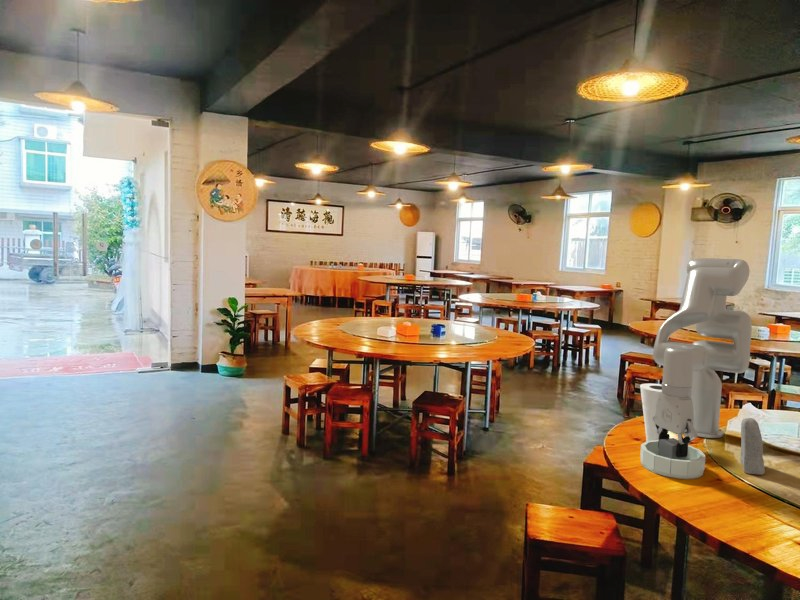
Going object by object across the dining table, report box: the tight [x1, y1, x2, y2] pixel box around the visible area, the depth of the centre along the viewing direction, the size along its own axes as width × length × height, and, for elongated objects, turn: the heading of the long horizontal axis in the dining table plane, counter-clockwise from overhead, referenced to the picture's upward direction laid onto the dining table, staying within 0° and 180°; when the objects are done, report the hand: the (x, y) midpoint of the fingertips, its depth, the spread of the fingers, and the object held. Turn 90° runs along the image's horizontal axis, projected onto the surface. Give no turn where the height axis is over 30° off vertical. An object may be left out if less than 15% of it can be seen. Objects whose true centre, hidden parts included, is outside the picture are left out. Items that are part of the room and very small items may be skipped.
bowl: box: [639, 440, 706, 480], centre depth 155 cm, size 16×16×5 cm
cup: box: [639, 382, 662, 442], centre depth 174 cm, size 11×11×18 cm
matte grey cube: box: [658, 437, 686, 460], centre depth 155 cm, size 5×5×6 cm
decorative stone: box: [740, 417, 766, 476], centre depth 155 cm, size 11×6×15 cm, turn 156°
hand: (672, 451), depth 155 cm, fingers open, 6 cm apart
